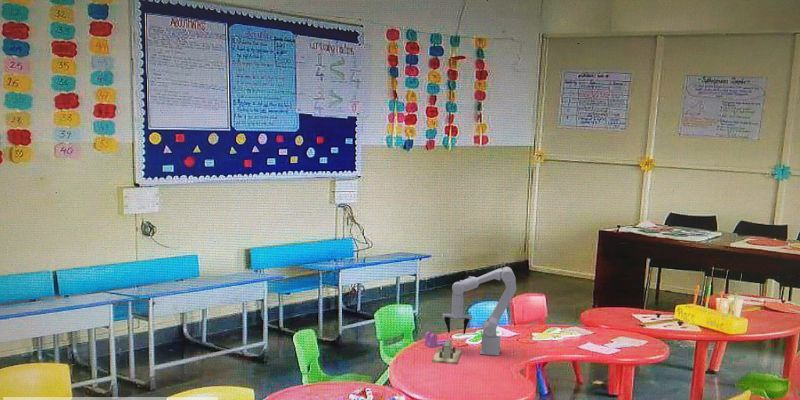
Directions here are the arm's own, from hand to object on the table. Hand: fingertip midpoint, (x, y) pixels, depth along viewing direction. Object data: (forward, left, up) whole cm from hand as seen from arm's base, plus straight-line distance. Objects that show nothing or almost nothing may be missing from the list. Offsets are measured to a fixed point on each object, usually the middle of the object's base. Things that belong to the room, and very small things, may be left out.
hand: (456, 332), depth 367 cm
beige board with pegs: (+3, +10, -9) cm, 14 cm away
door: (+3, +10, -8) cm, 14 cm away
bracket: (+10, -9, -10) cm, 17 cm away
